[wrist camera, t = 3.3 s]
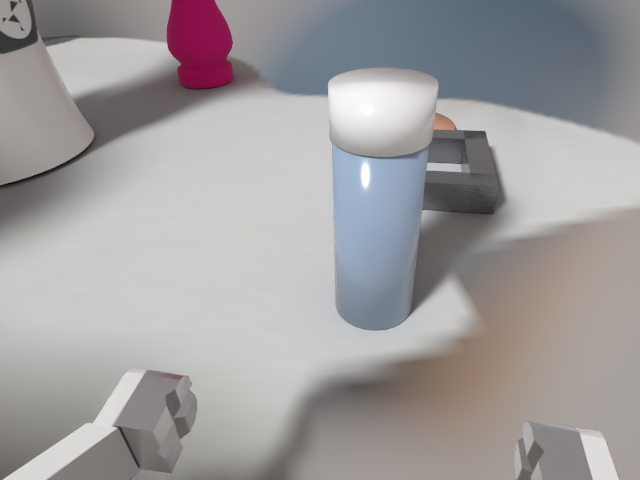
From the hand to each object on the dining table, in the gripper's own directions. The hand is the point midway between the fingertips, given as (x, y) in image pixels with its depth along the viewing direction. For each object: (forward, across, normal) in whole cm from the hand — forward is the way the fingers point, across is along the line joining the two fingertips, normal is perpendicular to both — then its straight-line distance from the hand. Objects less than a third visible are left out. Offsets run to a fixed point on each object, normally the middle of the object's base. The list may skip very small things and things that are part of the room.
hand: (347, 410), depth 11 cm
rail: (+21, +3, -6) cm, 22 cm away
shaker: (+11, 0, -6) cm, 12 cm away
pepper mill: (+46, -23, -6) cm, 51 cm away
